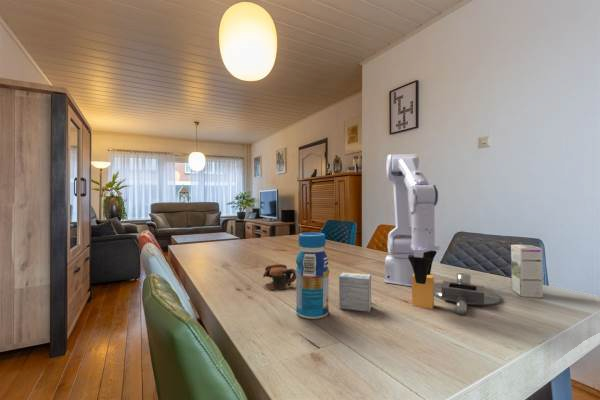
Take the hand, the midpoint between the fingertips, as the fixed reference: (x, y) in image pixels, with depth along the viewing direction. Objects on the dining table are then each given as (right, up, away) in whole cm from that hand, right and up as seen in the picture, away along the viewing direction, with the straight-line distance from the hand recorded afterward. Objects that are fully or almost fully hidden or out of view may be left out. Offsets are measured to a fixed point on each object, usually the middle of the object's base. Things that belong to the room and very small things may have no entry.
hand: (423, 279), depth 77 cm
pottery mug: (-40, -7, +18) cm, 44 cm away
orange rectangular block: (0, -7, 0) cm, 7 cm away
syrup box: (+34, -7, +8) cm, 36 cm away
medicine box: (-19, -7, -1) cm, 20 cm away
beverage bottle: (-30, -7, -5) cm, 31 cm away
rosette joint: (+13, -7, +5) cm, 16 cm away
